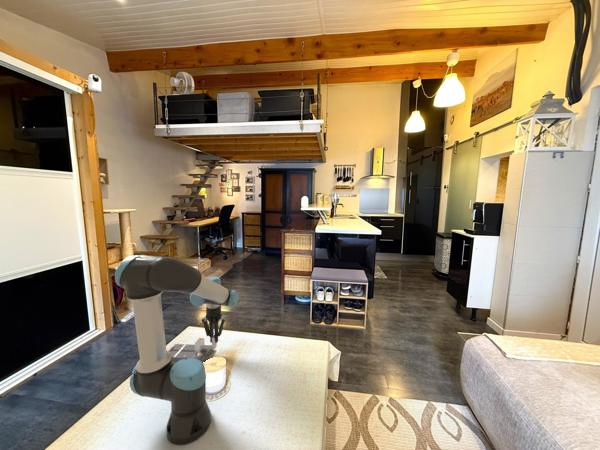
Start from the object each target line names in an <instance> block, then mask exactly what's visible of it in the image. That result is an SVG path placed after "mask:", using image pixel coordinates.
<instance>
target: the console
mask: <svg viewBox="0 0 600 450" xmlns="http://www.w3.org/2000/svg"><path fill="white" fill-rule="evenodd" d="M167 351H169V352H170V353H171V355H172V362H173V363H176V362H178V361H180V360H183V359H185V360H186V359H187V358H194V359H197V360H200V361H201V362H202V363H203V362H204V361H205V360H206V361H207V359H208V358H209V357H210V355H211V353H213V351H214V349H212V344H211V345H209V344H204V350H203V351H202V352H200V353H198V354H195V344H186V343H185V344H184V343H183V344H182V343H175V344H174V345H173V346H171V347H170V348H169V349H168V350H167ZM206 361H205V362H206ZM203 364H204V363H203Z"/></svg>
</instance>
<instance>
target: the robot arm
mask: <svg viewBox="0 0 600 450" xmlns="http://www.w3.org/2000/svg"><path fill="white" fill-rule="evenodd" d="M114 280H115V283H116V285H117V286H118V287H120V288H122V289H124V291H125V298H126V299H127V300H129V301H131V303H132V309H133V317H134V323H135V331H136V339H137V347H138V355H139V360H138V361H137V363H136V364H135V366H134V368H133V370H132V371H131V375H130V378H129V387H130V390H131V391H132V393H133V394H135V395H138V396H140V397H143V398H144V397H146V398H152V399H156V400H157V399H158V400H162V401H167V402H170V407H171V409H170V411H171V412H170V413H169V417H168V421H167V424H166V428H165V430H166V434H165V435H166V439H167V440H168V441H169V443H171V444H172V445H173V444H174V445H178V446H181V445H183V446H184V445H188V444H191V443H193V442H195V441H197V440H198V439H200V438H201V437H202V436H204V434H205V433H206V432H207V431H208V429H209V428H210V425H211V423H212V413H211V409H210V407H209V404H208V402H207V400H206V399H207V397H206V396H207V395H206V394H207V393H206V391H207V390H206V389H207V387H206V385H207V384H206V379H207V373H206V367H205V363H202V362H201V361H200V360H197V359H194V358H187V359H186V360H185V359H183V360H180V361H178V362H172V355H171V353H170V352H169V351H168V350H167V343H166V334H165V332H166V331H165V324H164V323H165V322H164V317H163V315H164V314H163V307H162V296H161V295H162V294H163V293H164V292H170V293H171V292H174V293H175V292H176V293H182V294H185V295H189V302H190V304H191V305H193V306H194V307H200V306H203V305H204V304H205V306H206V307H205V311H206V312H205V313H206V315H205V316H204V317H203V318H201V322H202V323H203V328H204V330H205V335H206V336H207V337H209V340H210V341H209V342H210V343H211V345H212V349H213V350H216V348H217V347H218V346H217V343H218V342H219V337H221V335H222V334H223V333H222V332H223V330H224V325H225V322H226V321H227V317H223V315H222V306H225V307H236V306H237V305H238V303H239V299H240V293H239V291H238V290H235V289H229V288H226V287H224V286H222V284H221V283H222V282H221V278H220V277H219V276H209V277H206V276H204V275H203V274H202V273H201V271H200V270H199V269H198V268H196V267H194V266H193V265H191V264H189V263H187V262H184V261H182V260H180V259H177V258H175V257H171V256H162V255H161V256H160V255H159V256H158V255H146V254H139V255H138V254H137V255H129V256H127V257H125V258H124V259H123V260H122V261H120V264H119V265H118V266H117V267H116V269H115V273H114ZM219 321H220V322H219ZM219 323H220V324H219Z"/></svg>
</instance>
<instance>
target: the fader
mask: <svg viewBox="0 0 600 450" xmlns="http://www.w3.org/2000/svg"><path fill="white" fill-rule="evenodd" d="M194 345H195V354H198V353H200V352H202V351H203V350H204V345H205V337H198V338H197V340H196V341H195V342H194Z"/></svg>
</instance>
